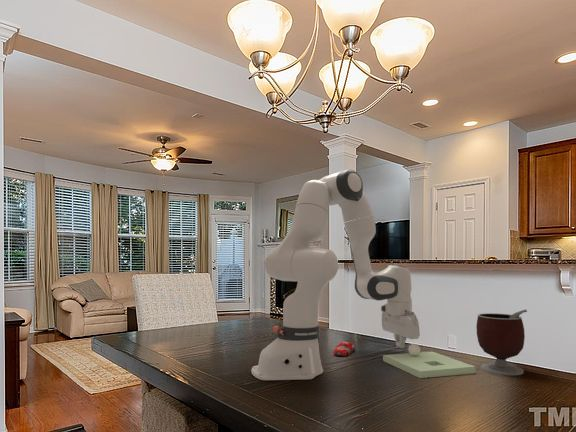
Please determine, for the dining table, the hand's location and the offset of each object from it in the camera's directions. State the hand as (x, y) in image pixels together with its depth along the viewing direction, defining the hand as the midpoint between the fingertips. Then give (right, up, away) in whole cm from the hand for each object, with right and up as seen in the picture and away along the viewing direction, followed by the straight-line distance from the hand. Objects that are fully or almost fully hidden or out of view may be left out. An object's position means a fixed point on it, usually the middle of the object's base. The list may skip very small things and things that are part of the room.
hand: (400, 347), depth 155 cm
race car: (-20, -4, +4) cm, 21 cm away
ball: (+3, +2, -8) cm, 9 cm away
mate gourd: (+28, -2, -20) cm, 34 cm away
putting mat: (+5, -2, -15) cm, 16 cm away
